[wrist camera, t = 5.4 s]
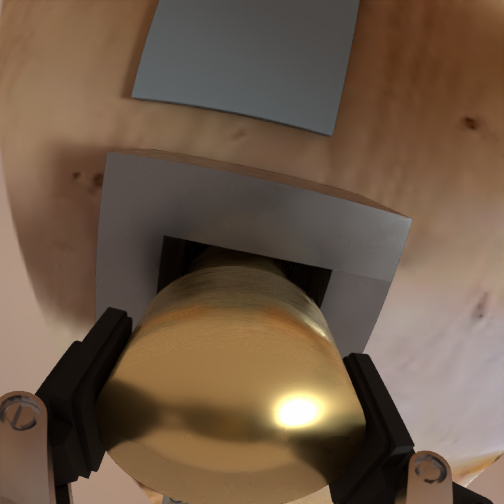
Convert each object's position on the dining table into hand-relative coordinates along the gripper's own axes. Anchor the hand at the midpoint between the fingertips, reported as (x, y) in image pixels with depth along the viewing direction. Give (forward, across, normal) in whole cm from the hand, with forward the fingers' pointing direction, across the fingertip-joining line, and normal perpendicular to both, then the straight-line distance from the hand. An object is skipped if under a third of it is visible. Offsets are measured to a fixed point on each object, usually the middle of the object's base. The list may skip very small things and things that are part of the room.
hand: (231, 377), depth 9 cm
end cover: (+6, 0, 0) cm, 6 cm away
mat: (+9, +2, -13) cm, 16 cm away
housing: (+9, 0, 0) cm, 9 cm away
